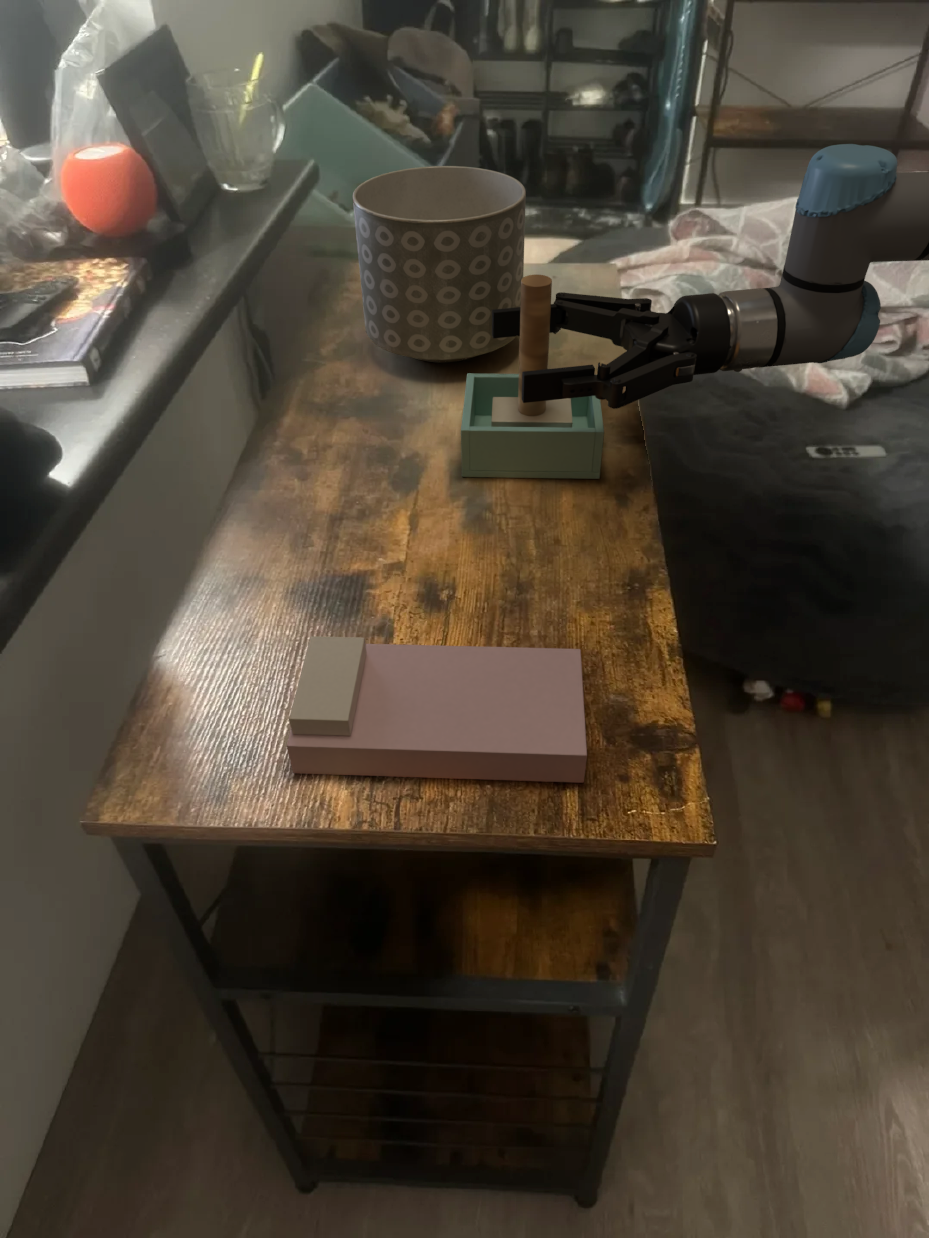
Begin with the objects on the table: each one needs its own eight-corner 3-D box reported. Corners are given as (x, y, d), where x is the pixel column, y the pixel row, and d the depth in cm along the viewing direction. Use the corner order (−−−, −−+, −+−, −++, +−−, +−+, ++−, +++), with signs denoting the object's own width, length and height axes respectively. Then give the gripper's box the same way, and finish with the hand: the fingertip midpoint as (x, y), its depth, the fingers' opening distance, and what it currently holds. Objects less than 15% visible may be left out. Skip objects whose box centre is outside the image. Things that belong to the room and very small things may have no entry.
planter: (524, 316, 115) (528, 166, 103) (518, 386, 101) (522, 221, 89) (380, 313, 116) (368, 165, 104) (355, 382, 102) (337, 219, 90)
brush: (568, 428, 92) (579, 269, 81) (570, 453, 89) (582, 291, 78) (492, 427, 93) (493, 269, 82) (491, 452, 89) (491, 291, 78)
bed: (577, 676, 67) (582, 632, 64) (583, 783, 60) (589, 739, 57) (318, 669, 68) (310, 626, 65) (292, 773, 61) (282, 730, 58)
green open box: (593, 419, 95) (597, 374, 92) (599, 479, 87) (604, 432, 83) (467, 418, 96) (467, 373, 92) (461, 477, 87) (460, 430, 84)
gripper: (763, 431, 80) (536, 456, 77) (668, 317, 98) (482, 335, 96) (782, 353, 75) (539, 378, 72) (678, 249, 93) (481, 266, 91)
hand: (506, 354), depth 84 cm, fingers open, 13 cm apart
